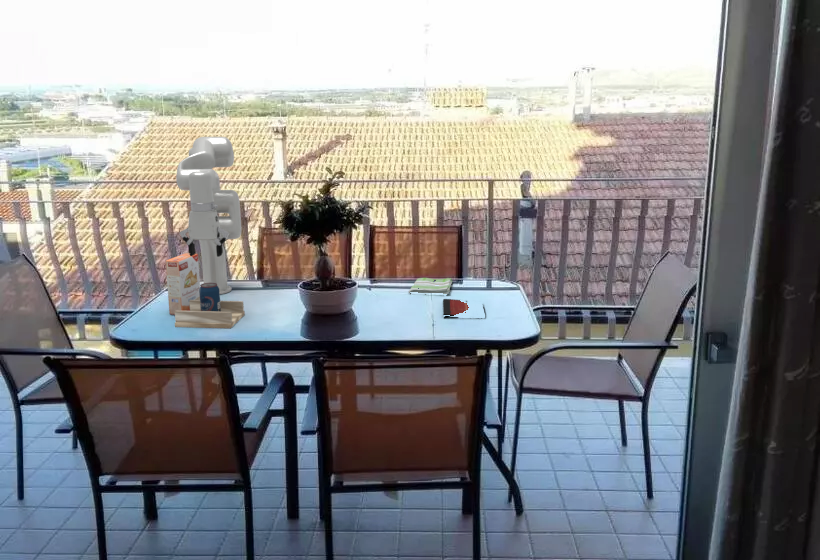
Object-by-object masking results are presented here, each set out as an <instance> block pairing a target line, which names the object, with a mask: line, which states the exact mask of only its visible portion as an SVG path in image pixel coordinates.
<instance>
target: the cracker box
mask: <svg viewBox="0 0 820 560" xmlns="http://www.w3.org/2000/svg"><path fill="white" fill-rule="evenodd" d="M165 272H166V283H167V299H168V309H169V310H168V311H169V315H172V316H173V315H174V316H175V311H176V310H179V311H190V304H189V301H190V300H200V295H199V289H200V287H201V282H200V281H201V280H200V279H201V278H200V265H199V254H198V253H195V255H193V256H190V253H189V252H186V253H183V254H180V255H178V256H177V255H176V256H175V257H172V258H169V259H166V260H165Z"/></svg>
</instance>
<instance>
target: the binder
mask: <svg viewBox="0 0 820 560" xmlns="http://www.w3.org/2000/svg"><path fill="white" fill-rule="evenodd" d="M460 300H461V299H451V298H443V300H442V305H443V306H442V307H443V308H442V310H443V311H442V312H443V313H442V316H443V315H450V316H454V315H456V314H459V313H463V312H464V311H466V310H468V308H469V307H468V305H467V303H464V302H461V301H460ZM465 313H466V312H465Z"/></svg>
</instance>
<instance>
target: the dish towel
mask: <svg viewBox="0 0 820 560" xmlns="http://www.w3.org/2000/svg"><path fill="white" fill-rule="evenodd" d="M434 280H436V281H435V282H433V281H434ZM452 282H453V283H454V281H453V279H452V278H451V277H450V278H449V277H447V278H436V279H435V278H431V277H430V278H429V277H419V278H417V279H416V280H415V282H414V283H413V284H414V285H413V284H412V286H411V287H410V289H409V290H408V294H409V293H410V292H418V293H443V294H448V293H449V292H450V291H451V290H450V287H451V288H452V286H451V284H452ZM435 285H439V286H435ZM452 285H453V284H452ZM418 288H419V289H418ZM449 294H450V293H449Z"/></svg>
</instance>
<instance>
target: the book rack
mask: <svg viewBox="0 0 820 560" xmlns="http://www.w3.org/2000/svg"><path fill="white" fill-rule="evenodd" d="M189 304H190V311H179V310H176V311H175V315H174V319H175V322H174V327H175V328H194V329H197V328H200V329H201V328H202V329H203V328H204V329H205V328H206V329H211V328H212V329H231V328H233V327H234V326H235V325H236V324H237V323H238V322H239V321H240V320H241V319H242V318H243V317H244V316H245V314H246V312H245V310H244V309H245V308H244V300H220V306H221V311H201V308H200V300H190V301H189ZM234 324H235V325H234Z"/></svg>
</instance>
